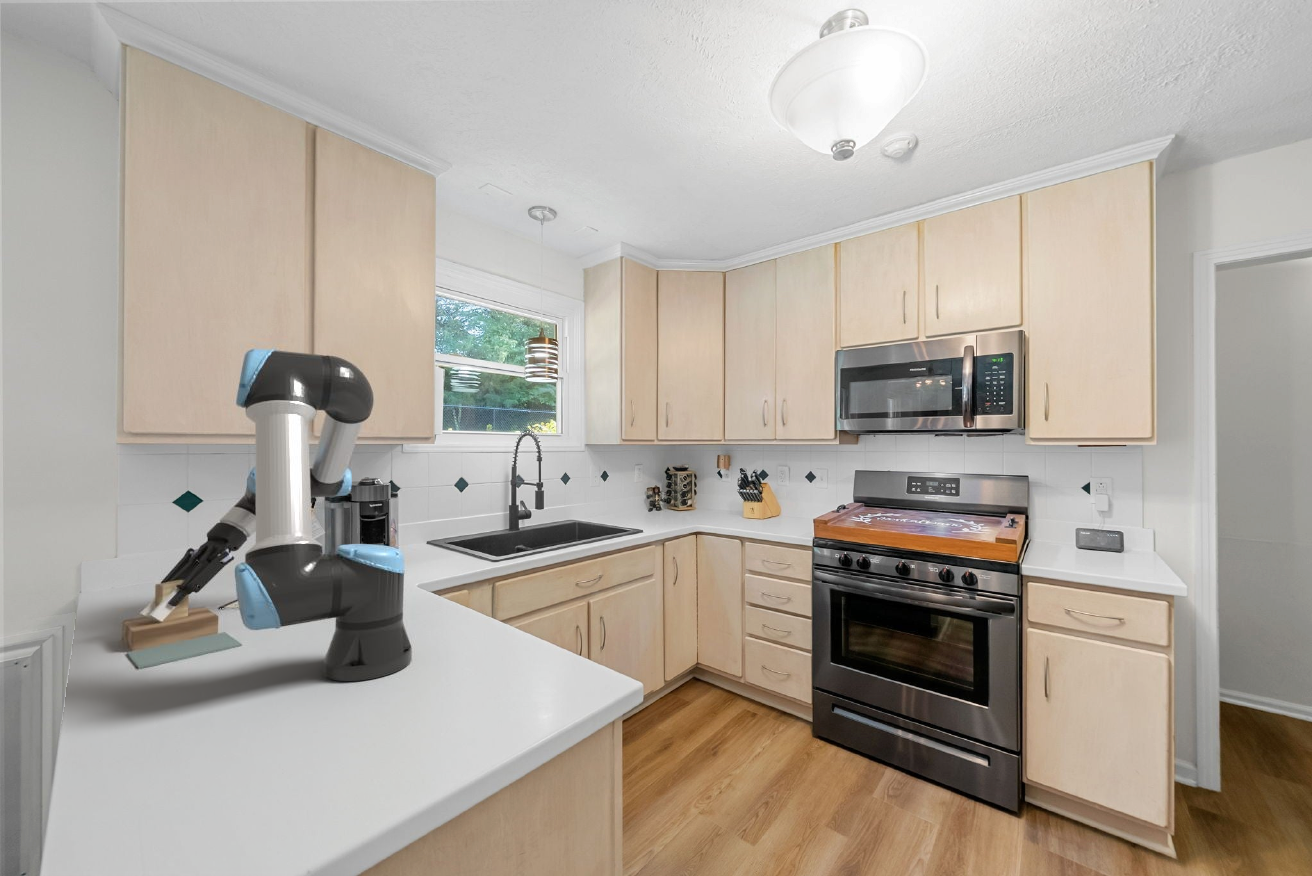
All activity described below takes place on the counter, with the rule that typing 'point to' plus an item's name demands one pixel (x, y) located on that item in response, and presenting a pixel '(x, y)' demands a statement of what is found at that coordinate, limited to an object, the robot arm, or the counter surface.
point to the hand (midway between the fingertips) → (150, 617)
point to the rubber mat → (182, 650)
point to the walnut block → (169, 629)
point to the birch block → (164, 591)
